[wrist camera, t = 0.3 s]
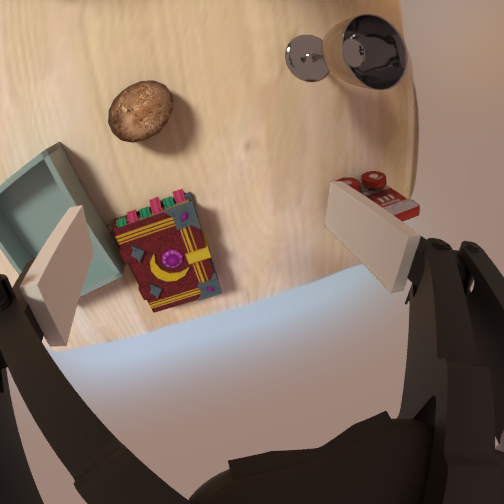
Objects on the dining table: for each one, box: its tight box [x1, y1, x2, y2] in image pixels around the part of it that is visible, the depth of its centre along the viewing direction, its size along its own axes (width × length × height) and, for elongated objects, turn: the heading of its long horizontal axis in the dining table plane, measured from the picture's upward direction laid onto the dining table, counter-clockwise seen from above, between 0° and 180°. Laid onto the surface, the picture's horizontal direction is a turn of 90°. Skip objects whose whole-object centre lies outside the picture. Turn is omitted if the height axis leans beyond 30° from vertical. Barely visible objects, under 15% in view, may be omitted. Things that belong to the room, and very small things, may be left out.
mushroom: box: [108, 81, 173, 142], centre depth 30 cm, size 8×8×6 cm
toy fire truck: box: [337, 171, 420, 222], centre depth 42 cm, size 7×12×10 cm, turn 103°
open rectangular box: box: [0, 142, 125, 297], centre depth 33 cm, size 20×15×5 cm
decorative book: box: [113, 189, 222, 313], centre depth 41 cm, size 11×16×5 cm
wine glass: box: [285, 14, 407, 90], centre depth 27 cm, size 8×8×15 cm
